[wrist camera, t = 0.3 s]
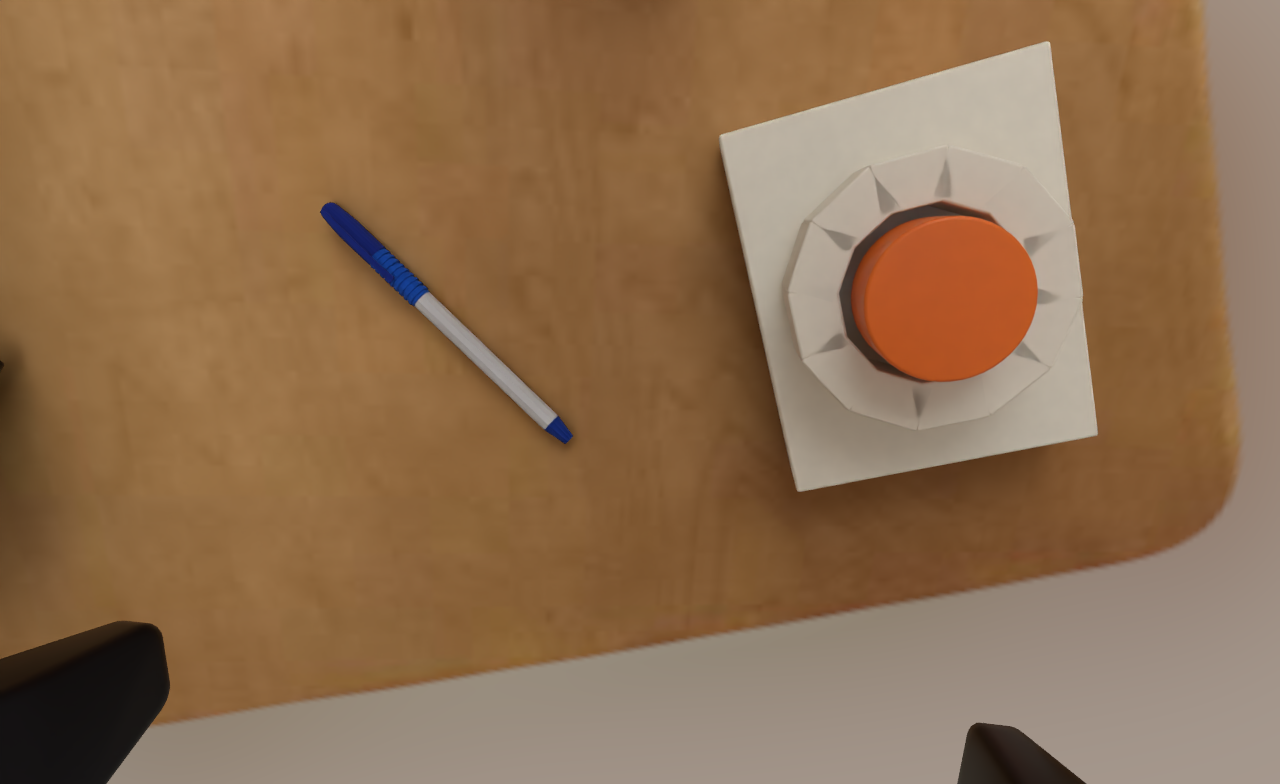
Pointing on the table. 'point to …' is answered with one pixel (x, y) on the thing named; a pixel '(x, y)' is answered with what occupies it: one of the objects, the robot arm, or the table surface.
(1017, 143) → the button block
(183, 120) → the table surface
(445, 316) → the ballpoint pen
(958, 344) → the button
